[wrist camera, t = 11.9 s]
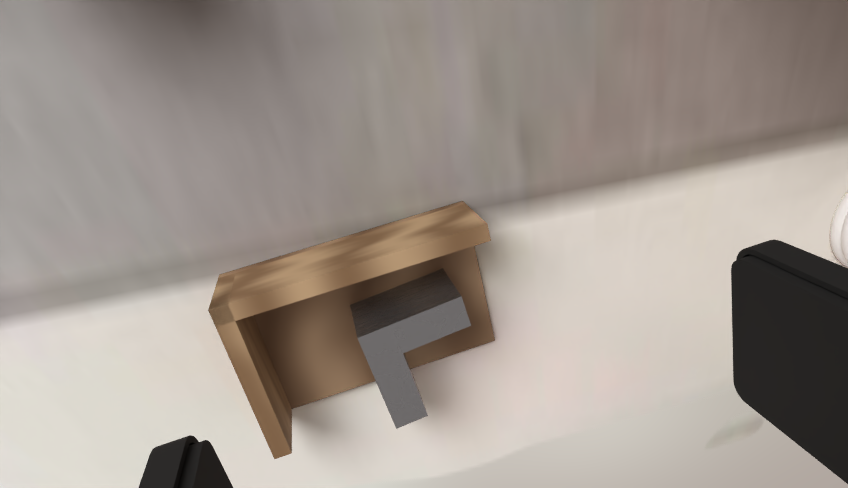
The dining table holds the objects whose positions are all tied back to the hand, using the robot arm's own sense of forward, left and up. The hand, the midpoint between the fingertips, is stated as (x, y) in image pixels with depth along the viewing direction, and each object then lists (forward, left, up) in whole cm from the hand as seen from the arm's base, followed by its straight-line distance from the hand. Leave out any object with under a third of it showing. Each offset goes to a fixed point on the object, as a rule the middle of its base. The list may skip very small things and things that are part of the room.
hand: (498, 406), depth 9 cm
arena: (+2, +13, -30) cm, 33 cm away
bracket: (-1, +16, -30) cm, 34 cm away
